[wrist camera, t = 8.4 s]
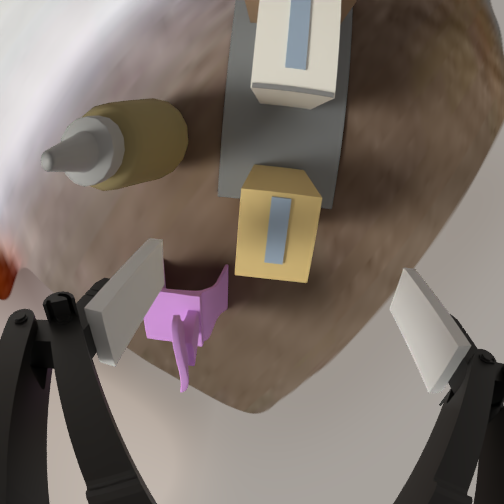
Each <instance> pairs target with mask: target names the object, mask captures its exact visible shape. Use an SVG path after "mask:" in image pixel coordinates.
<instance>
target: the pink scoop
mask: <svg viewBox="0 0 504 504" xmlns="http://www.w3.org/2000/svg"><path fill="white" fill-rule="evenodd" d="M163 264H164V259H163ZM164 283H165V285H164V286H163V288H162V289H161V291H160V293H159V294H158V296H157V297H156V299H155V301H154V302H153V304H152V305H151V307H150V309H149V310H148V312H147V314H146V315H145V317H144V323H145V330H146V335H147V338H151V339H156V340H165V341H172V342H173V347H174V352H175V357H176V361H177V365H178V369H179V374H180V379H181V390H180V392H184V391H185V390H186V389H187V388H188V383H189V376H188V365H191V366H194V365H195V360H196V352H197V346H203V343H204V341H205V340H207V339H208V338H209V337H210V335H211V332H212V330H213V327H214V325H215V322H216V320H217V318H218V317H219V315H220V314H221V313H222V312H224V311H225V310H227V308H228V264H225V266H224V268H223V270H222V272H221V274H220V276H219V278H218V280H217V281H216V283H215V284H214V285H213V286H212V287H209V288H206V289H204V290H199V291H190V290H175V289H166V282H165V271H164Z"/></svg>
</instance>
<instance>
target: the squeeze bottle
mask: <svg viewBox="0 0 504 504" xmlns="http://www.w3.org/2000/svg"><path fill="white" fill-rule="evenodd" d="M187 145H188V131H187V125H186V123H185V121H184V119H183V117H182V115H181V113H180V111H178V110H177V109H176V108H175V107H173V106H172V105H171V104H170V103H169V102H166V101H162V100H158V99H140V100H129V101H120V102H111V103H106V104H102V105H99V106H95V107H93V108H92V109H91V110H90V111H88V112H87V113H86V114H85V115H84V116H82V118H78V119H76V120H75V121H74V122H73V123H71V124H70V125H69V126H68V127H67V129H66V131H65V133H64V135H63V136H62V139H61V142H60V143H58V144H57V145H55V146H53V147H51V148H50V149H48V150H46V151H45V152H44V153H43V154H42V157H41V165H42V168H43V169H44V170H45V171H48V172H65V174H66V176H67V177H68V178H70V179H71V180H72V181H73V182H74V183H75V184H78V185H81V186H84V187H85V186H91V187H94V188H96V189H99V190H102V191H107V190H115V189H120V188H124V187H128V186H132V185H136V184H140V183H144V182H148V181H152V180H156V179H160V178H162V177H164V176H165V175H167V174H169V173H171V172H173V171H174V170H175V168H176V167H177V166H178V165H179V163H180V162H181V161H182V160H183V158H184V155H185V152H186V148H187Z"/></svg>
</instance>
